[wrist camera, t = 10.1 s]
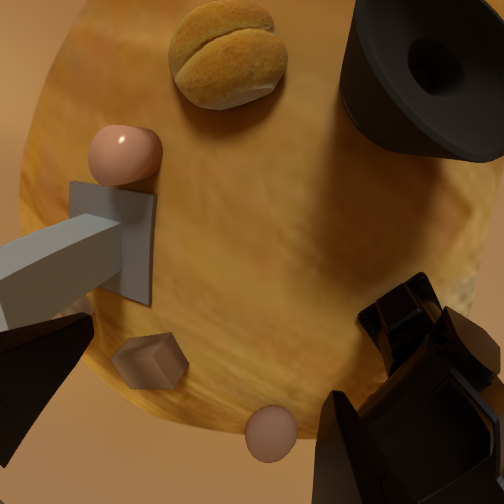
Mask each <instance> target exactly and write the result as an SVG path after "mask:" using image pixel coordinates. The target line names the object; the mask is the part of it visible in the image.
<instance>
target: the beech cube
mask: <svg viewBox="0 0 504 504" xmlns="http://www.w3.org/2000/svg"><path fill="white" fill-rule="evenodd" d="M80 312H85V313H87V314H89V315H91V314H92V313H93V312H95V311H94V309H93V307H92V305H91V304H90V302H89V300H88V298H87V297H86V295H84V296H82V297H81V298H80V299H78V300H77V301H75V302H74V303H73V304H71V305H70V306H68V307H67V308H66V309H64V310H63V311H61V312H60V313H59V314H57V315H56V316H55V317H53V318H52V319H56V318H60V317H64V316H68V315H72V314H76V313H80ZM52 319H51V320H52Z"/></svg>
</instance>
